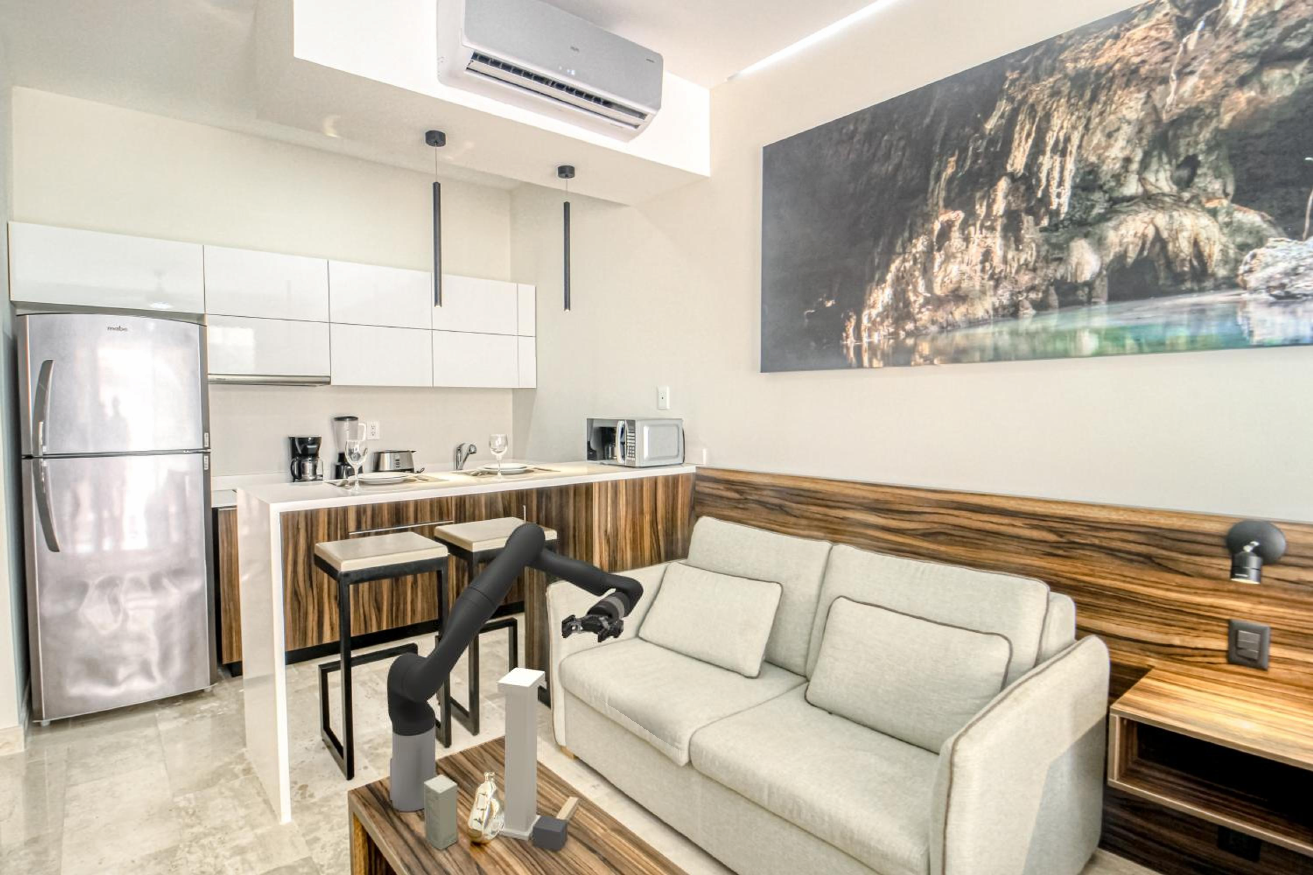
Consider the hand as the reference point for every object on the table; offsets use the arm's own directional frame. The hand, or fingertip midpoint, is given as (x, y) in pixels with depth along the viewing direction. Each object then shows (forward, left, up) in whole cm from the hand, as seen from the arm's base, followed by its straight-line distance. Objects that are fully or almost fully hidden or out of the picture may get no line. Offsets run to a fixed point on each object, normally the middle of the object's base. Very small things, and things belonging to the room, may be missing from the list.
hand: (581, 636), depth 151 cm
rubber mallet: (+3, -10, -38) cm, 39 cm away
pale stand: (-4, -15, -38) cm, 41 cm away
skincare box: (-15, -27, -38) cm, 49 cm away
